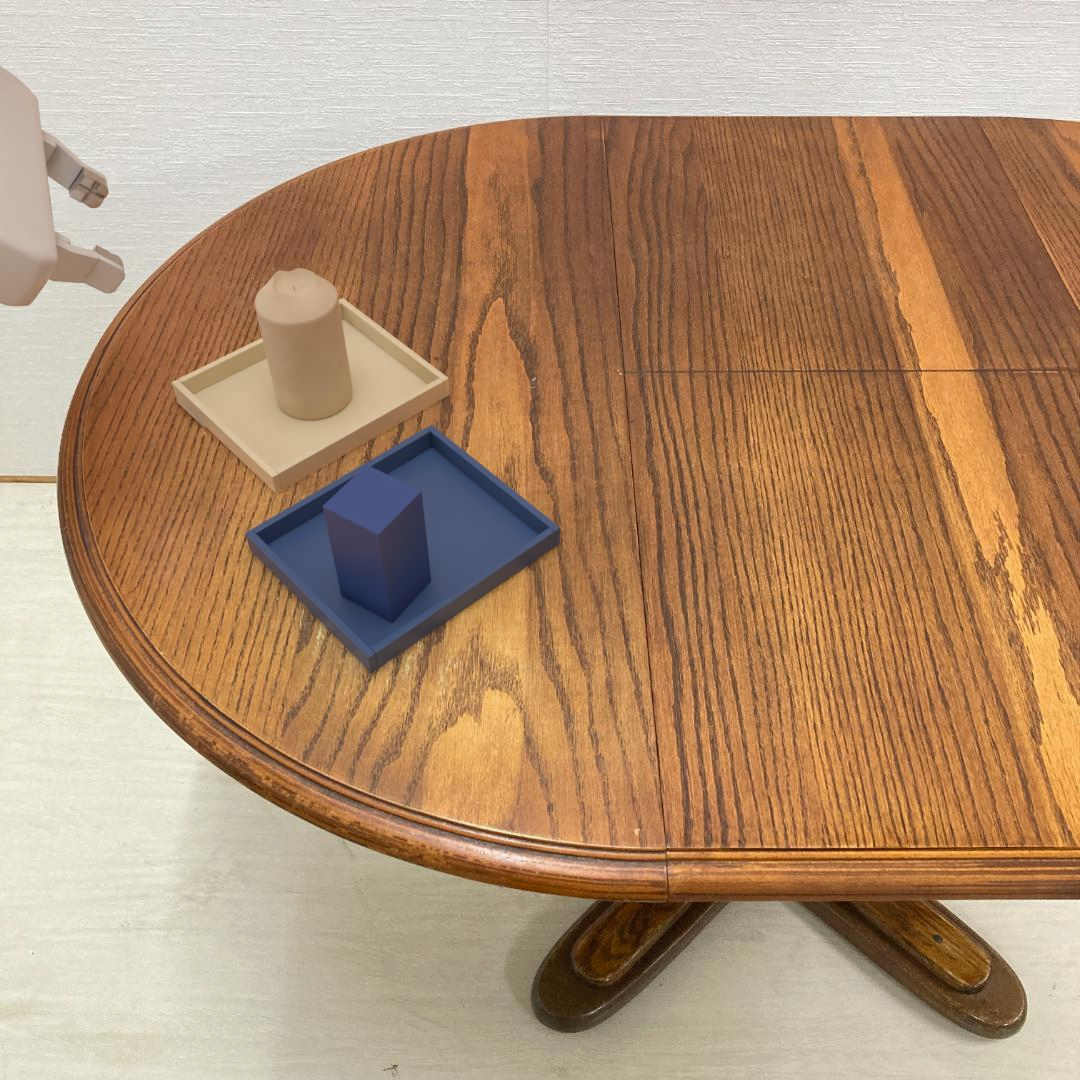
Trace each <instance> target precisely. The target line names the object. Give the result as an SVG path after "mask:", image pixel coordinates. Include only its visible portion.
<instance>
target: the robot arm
mask: <svg viewBox="0 0 1080 1080" xmlns="http://www.w3.org/2000/svg"><path fill="white" fill-rule="evenodd" d="M49 178H50V179H52V180H53V181H55V182H56V183H57V184H58V185H60V186H61V187H63V188H64V189H65V190H68V195H69V197H70V198H71V199H73V200H75V201H76V202H79V203H83V204H84V205H85V206H87V207H89V208H91V209H98V208H100V207H101V205H102V204H103V202H104V200H105V199H106V198H107V196H108V195H109V186H108V181H107V180H108V179H107V176H106V175H105V174H103V173H101V172H100V171H98V170H97V169H95V168H93V167H91V166H89V165H87V164H86V163H84V162H83V161H82V160H81V159H80V158H79V157H78V156H77V155H76V154H74V153H73V152H72V150H70V149H69V148H68V147H67V146H66V145H65V144H64V143H63V142H62V141H61V140H60V139H58V137H56V136H54V135H52V134H51V133H49V132H47V131H45V130H43V129H42V121H41V113H40V104H39V99H38V97H37V96H36V95H35V94H34V93H33V91H32V90H31V89H30V88H29V87H28V86H27V85H26V84H25V83H23V82H22V81H21V80H20V79H19V78H18V77H17V76H16V75H14V74H13V72H10V71H9V70H7V69H5V68H4V67H3V66H1V65H0V304H1V305H4V306H6V307H7V306H8V307H28V306H30V305H32V303H34V301H35V300H36V299H37V297H38V296H39V295H40V293H41V292H42V290H43V289H44V287H45V286H46V284H47V283H48V281H51V282H56V283H57V282H58V283H74V284H85V285H87V286H89V287H91V288H93V289H96V290H97V291H100V292H102V293H104V294H113V293H115V292H116V291H117V290H118V288H119V287H120V286H121V285H122V284H123V281H124V280H125V278H126V273H125V267H124V263H123V260H122V258H121V256H119V255H117V254H115V253H112V252H110V251H109V250H108V249H105V248H104V247H102V246H99V245H98V244H96V245H95V247H93V249H88V248H85V247H80V246H77V245H73V244H71V239H70V238H69V237H67V236H65V235H64V234H62V233H60V232H58V231H56V230H55V222H54V215H53V208H52V199H51V193H50V191H51V190H50V184H49V183H50V182H49Z"/></svg>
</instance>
